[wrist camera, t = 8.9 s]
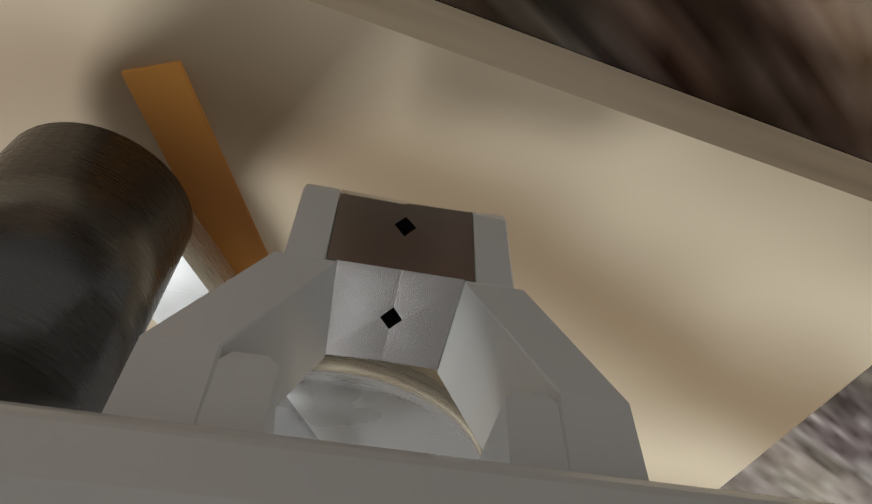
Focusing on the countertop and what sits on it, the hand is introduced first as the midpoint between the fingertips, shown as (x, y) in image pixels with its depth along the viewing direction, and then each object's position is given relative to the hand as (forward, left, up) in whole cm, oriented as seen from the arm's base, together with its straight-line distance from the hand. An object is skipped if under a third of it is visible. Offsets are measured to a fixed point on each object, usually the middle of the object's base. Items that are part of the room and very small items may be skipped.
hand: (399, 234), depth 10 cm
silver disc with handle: (-6, +1, -2) cm, 7 cm away
